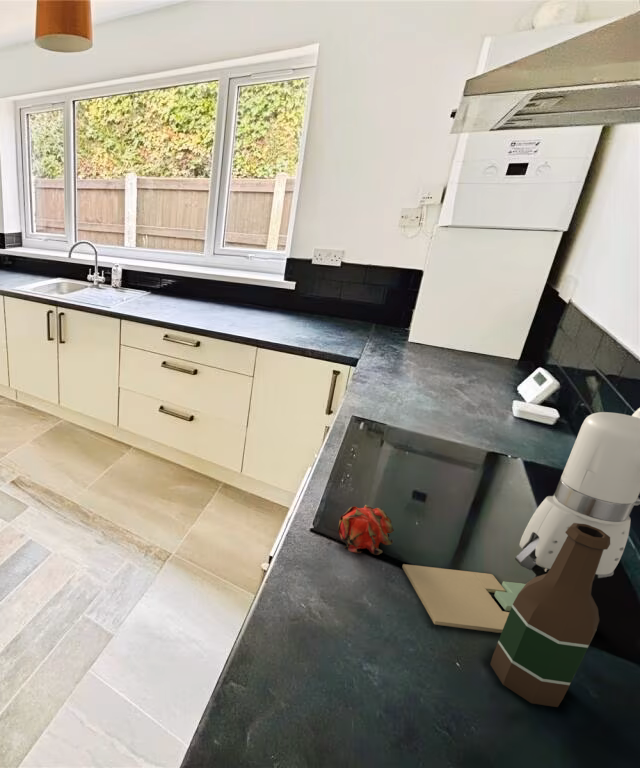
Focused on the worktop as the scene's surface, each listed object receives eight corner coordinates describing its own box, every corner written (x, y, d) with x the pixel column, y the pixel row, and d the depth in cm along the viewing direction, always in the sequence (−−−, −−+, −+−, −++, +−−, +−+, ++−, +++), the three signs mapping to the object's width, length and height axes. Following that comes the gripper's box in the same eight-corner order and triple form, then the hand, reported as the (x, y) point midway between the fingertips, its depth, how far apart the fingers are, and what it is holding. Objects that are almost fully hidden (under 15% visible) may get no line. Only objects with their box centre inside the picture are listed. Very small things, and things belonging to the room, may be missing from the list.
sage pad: (555, 592, 74) (570, 557, 71) (594, 634, 66) (613, 597, 64) (484, 583, 75) (497, 549, 73) (515, 624, 68) (530, 587, 65)
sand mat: (490, 579, 77) (492, 574, 77) (538, 640, 66) (541, 634, 65) (401, 569, 79) (402, 563, 79) (433, 627, 68) (435, 621, 67)
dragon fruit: (382, 542, 88) (345, 574, 82) (351, 503, 91) (313, 532, 86) (415, 528, 81) (377, 562, 75) (380, 487, 84) (341, 517, 79)
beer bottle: (571, 724, 55) (652, 564, 47) (491, 690, 59) (553, 537, 50) (557, 673, 61) (626, 524, 53) (485, 645, 65) (539, 502, 57)
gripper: (633, 490, 66) (587, 590, 72) (512, 479, 68) (477, 576, 75) (684, 522, 59) (627, 629, 65) (547, 509, 61) (505, 613, 68)
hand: (548, 600), depth 70 cm, fingers closed on sage pad
